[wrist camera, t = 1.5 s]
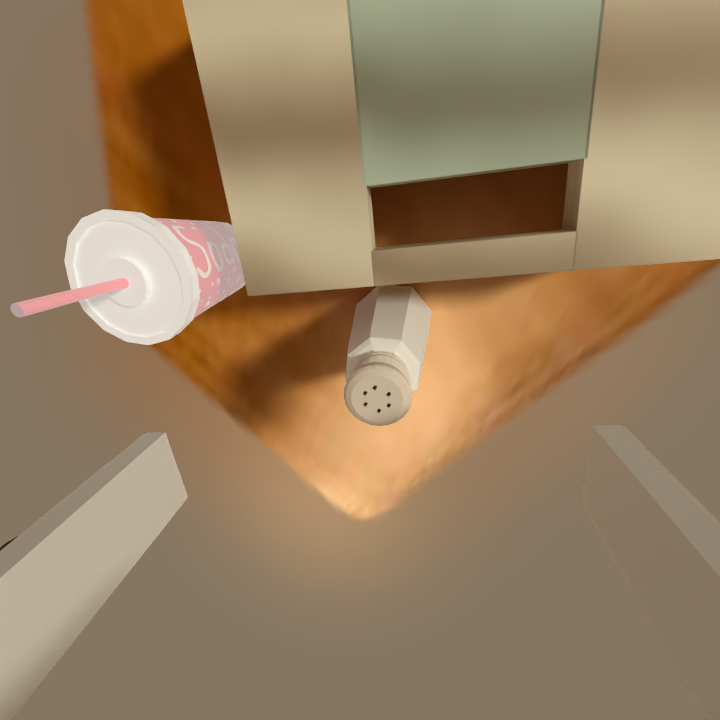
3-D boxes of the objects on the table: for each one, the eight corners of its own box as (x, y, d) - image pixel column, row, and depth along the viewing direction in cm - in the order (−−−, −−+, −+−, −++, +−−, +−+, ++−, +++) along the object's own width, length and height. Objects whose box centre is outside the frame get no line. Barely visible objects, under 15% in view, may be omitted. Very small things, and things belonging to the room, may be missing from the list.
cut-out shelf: (253, -1, 19) (153, -129, 12) (685, -99, 16) (917, -362, 8) (298, 269, 24) (247, 296, 17) (630, 239, 21) (745, 256, 14)
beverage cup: (274, 298, 25) (130, 390, 13) (194, 304, 26) (-14, 395, 14) (255, 203, 23) (57, 198, 10) (168, 214, 24) (-109, 221, 11)
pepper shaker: (340, 336, 26) (292, 419, 16) (374, 266, 24) (344, 311, 14) (408, 371, 26) (403, 473, 16) (448, 305, 24) (472, 376, 14)
